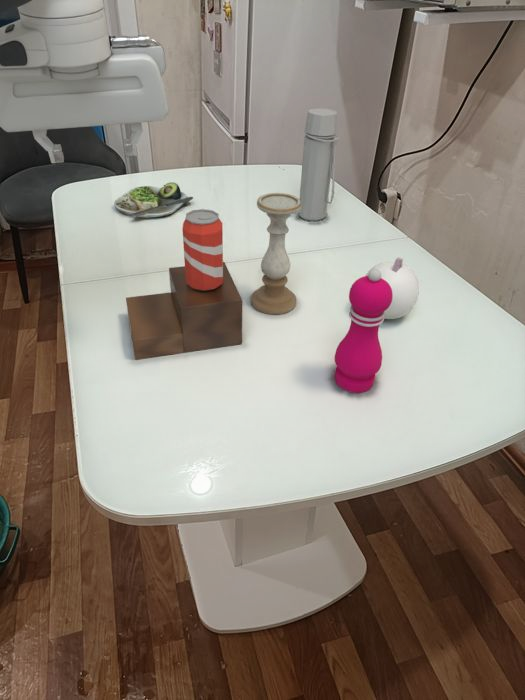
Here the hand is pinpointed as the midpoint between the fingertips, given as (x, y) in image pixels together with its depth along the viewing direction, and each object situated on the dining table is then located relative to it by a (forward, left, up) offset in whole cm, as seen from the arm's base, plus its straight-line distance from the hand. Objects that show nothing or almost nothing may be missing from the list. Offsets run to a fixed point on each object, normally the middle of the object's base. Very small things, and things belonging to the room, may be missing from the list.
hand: (95, 157), depth 67 cm
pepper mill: (+37, +11, -31) cm, 50 cm away
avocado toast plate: (-31, +51, -31) cm, 67 cm away
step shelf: (+6, +9, -31) cm, 33 cm away
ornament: (+36, +32, -31) cm, 57 cm away
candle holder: (+16, +25, -31) cm, 43 cm away
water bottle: (+8, +66, -31) cm, 73 cm away
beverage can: (+9, +11, -22) cm, 27 cm away
